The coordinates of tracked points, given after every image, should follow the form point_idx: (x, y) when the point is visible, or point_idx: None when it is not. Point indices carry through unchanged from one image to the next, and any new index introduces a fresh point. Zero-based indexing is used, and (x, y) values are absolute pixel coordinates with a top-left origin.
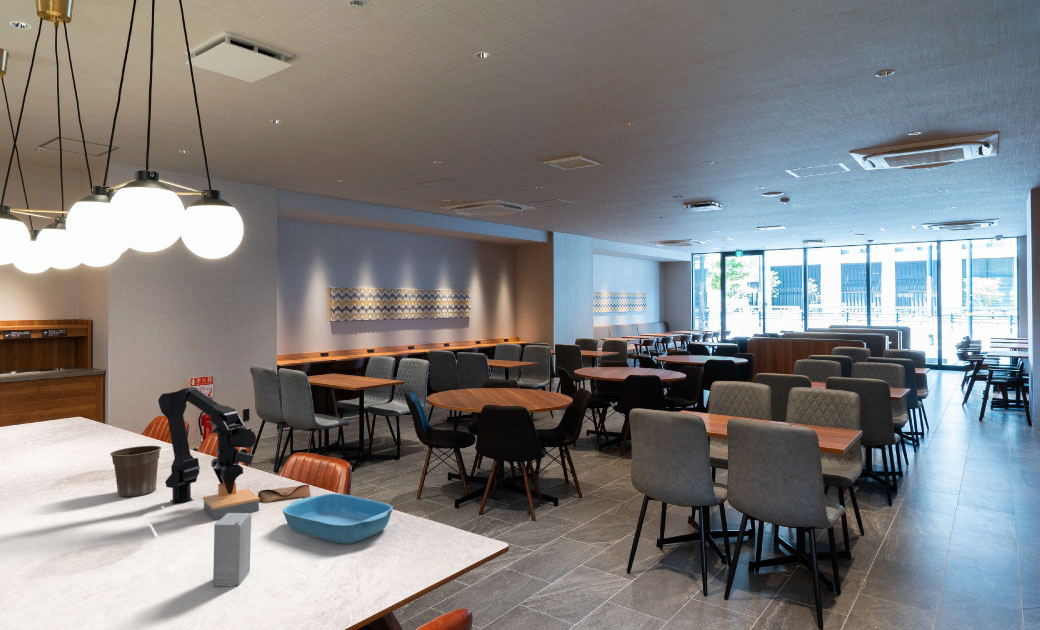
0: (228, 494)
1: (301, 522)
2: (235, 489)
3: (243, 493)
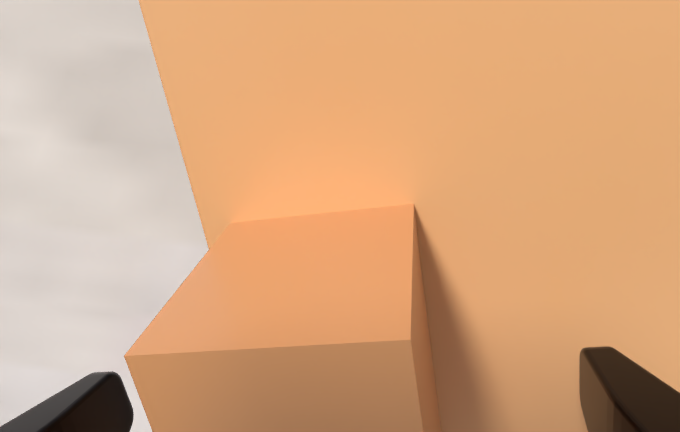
0: (430, 340)
1: None
2: (415, 256)
3: (527, 55)
